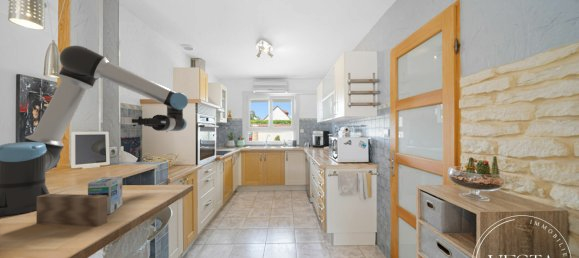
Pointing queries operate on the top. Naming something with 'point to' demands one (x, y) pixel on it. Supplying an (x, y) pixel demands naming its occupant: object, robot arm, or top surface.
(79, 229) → the top surface
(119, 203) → the light bulb box
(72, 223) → the walnut board
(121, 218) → the top surface
